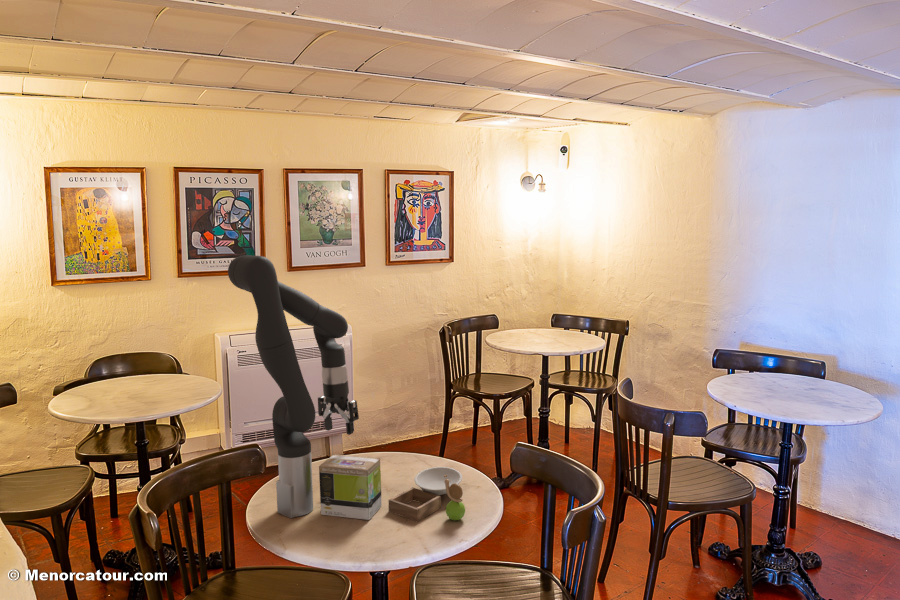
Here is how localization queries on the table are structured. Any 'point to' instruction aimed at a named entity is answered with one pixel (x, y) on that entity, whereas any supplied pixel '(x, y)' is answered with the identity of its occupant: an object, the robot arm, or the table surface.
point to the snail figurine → (454, 501)
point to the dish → (437, 479)
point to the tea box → (350, 486)
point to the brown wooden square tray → (401, 508)
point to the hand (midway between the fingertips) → (339, 431)
